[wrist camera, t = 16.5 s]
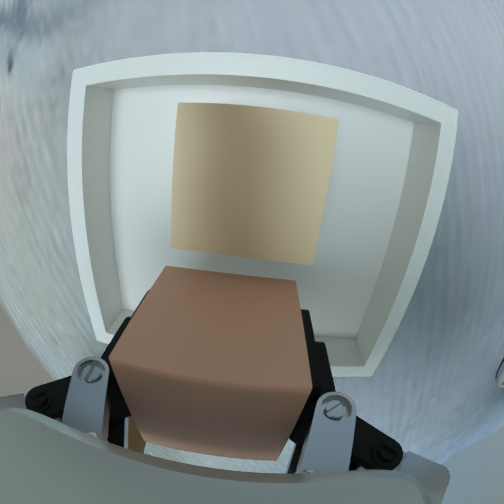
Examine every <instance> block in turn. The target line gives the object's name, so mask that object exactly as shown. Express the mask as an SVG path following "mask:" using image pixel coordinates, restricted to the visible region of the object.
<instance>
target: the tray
mask: <svg viewBox="0 0 504 504" xmlns="http://www.w3.org/2000/svg"><path fill="white" fill-rule="evenodd" d="M178 103H219V104H235V105H247V106H258V107H267V108H275V109H282V110H289V111H296V112H302V113H308V114H314V115H319V116H324V117H329V118H334V119H339V123H338V130H337V137H336V144H335V151H334V157H333V163H332V169H331V175H330V181H329V187H328V192H327V198H326V203H325V208H324V214H323V219H322V224H321V228H320V233H319V238H318V243H317V247H316V252H315V256H314V261H313V265H304V264H296V263H288V262H280V261H272V260H264V259H256V258H248V257H240V256H232V255H224V254H216V253H208V252H200V251H192V250H185V249H177V248H171V209H172V175H173V156H174V141H175V128H176V117H177V107H178ZM458 111H459V110H457V109H455V108H453V107H451V106H448V105H446V104H444V103H442V102H440V101H438V100H436V99H433V98H431V97H429V96H426V95H424V94H422V93H419V92H417V91H414V90H412V89H409V88H406V87H404V86H401V85H398V84H395V83H392V82H390V81H387V80H383V79H380V78H377V77H374V76H371V75H367V74H364V73H360V72H356V71H353V70H349V69H345V68H341V67H336V66H332V65H327V64H322V63H317V62H312V61H306V60H301V59H294V58H287V57H279V56H271V55H261V54H248V53H227V52H193V53H173V54H160V55H150V56H142V57H135V58H128V59H122V60H116V61H110V62H105V63H100V64H96V65H91V66H87V67H83V68H79V69H75V70H73V76H72V83H71V92H70V101H69V114H68V134H67V171H68V191H69V204H70V214H71V223H72V231H73V239H74V245H75V251H76V257H77V263H78V268H79V273H80V278H81V283H82V287H83V292H84V296H85V300H86V304H87V308H88V312H89V315H90V319H91V322H92V326H93V329H94V332H95V336H96V339H97V341H100V342H104V343H107V344H109V343H110V342H111V340H112V338H113V337H114V335H115V333H116V332H117V330H118V329H119V327H120V326H121V324H122V322H123V321H124V319H125V318H126V317H128V316H129V317H131V316H132V314H133V313H134V311H135V310H136V308H137V306H138V305H139V303H140V302H141V300H142V299H143V297H144V296H145V294H146V292H147V291H148V290H150V289H151V287H152V286H153V284H154V282H155V281H156V279H157V278H158V276H159V275H160V273H161V272H162V270H163V269H164V267H165V266H173V267H181V268H189V269H197V270H205V271H213V272H222V273H230V274H239V275H248V276H257V277H266V278H276V279H285V280H295V281H296V285H297V291H298V296H299V302H300V308H301V309H306V310H309V312H310V317H311V322H312V327H313V332H314V337H315V341H318V342H324V343H325V345H326V349H327V354H328V358H329V363H330V368H331V372H332V377H372V376H373V374H374V372H375V371H376V369H377V367H378V365H379V364H380V362H381V360H382V358H383V356H384V355H385V353H386V351H387V349H388V347H389V345H390V343H391V341H392V339H393V337H394V335H395V333H396V331H397V329H398V327H399V325H400V323H401V321H402V319H403V316H404V314H405V312H406V310H407V308H408V305H409V303H410V301H411V298H412V296H413V294H414V291H415V289H416V286H417V284H418V281H419V279H420V276H421V273H422V271H423V268H424V265H425V262H426V260H427V257H428V254H429V251H430V248H431V245H432V242H433V238H434V235H435V232H436V228H437V225H438V221H439V218H440V214H441V210H442V207H443V203H444V198H445V194H446V190H447V185H448V181H449V176H450V171H451V165H452V159H453V153H454V147H455V140H456V132H457V122H458Z"/></svg>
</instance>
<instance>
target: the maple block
mask: <svg viewBox="0 0 504 504" xmlns="http://www.w3.org/2000/svg"><path fill="white" fill-rule="evenodd" d="M338 123H339V119H334V118H329V117H324V116H319V115H314V114H308V113H302V112H296V111H289V110H282V109H275V108H267V107H258V106H247V105H235V104H219V103H178V107H177V117H176V128H175V141H174V156H173V175H172V209H171V248H177V249H185V250H192V251H200V252H208V253H216V254H224V255H232V256H240V257H248V258H256V259H264V260H272V261H280V262H288V263H296V264H304V265H313V261H314V256H315V252H316V247H317V243H318V238H319V233H320V228H321V224H322V219H323V214H324V208H325V203H326V198H327V192H328V187H329V181H330V175H331V169H332V163H333V157H334V151H335V144H336V137H337V130H338Z"/></svg>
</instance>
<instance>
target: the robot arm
mask: <svg viewBox="0 0 504 504" xmlns="http://www.w3.org/2000/svg"><path fill="white" fill-rule="evenodd" d="M148 292H149V290H148V291H147V292H146V294H145V296H146V295H147V293H148ZM145 296H144V297H143V299H144V298H145ZM143 299H142V300H141V302H140V303H139V305H138V306H137V308H136V310H135V311H134V313H133V314H132V316H131V317H129V316H128V317H126V318H125V319H124V321H123V322H122V324H121V326H120V327H119V329H118V330H117V332H116V333H115V335H114V337H113V338H112V340H111V342H110V343H109V345H108V346H107V348H106V350H105V351H104V353H103V355H102V356H101V358H97V357H88V358H84V359H82V360H81V361H79V362H78V363H77V364H76V365H75V367H74V370H73V373H72V376H69V377H66V378H63V379H59V380H56V381H53V382H50V383H47V384H43V385H40V386H37V387H34V388H33V389H31V390H30V391H29V392H28V393H27V395H26V396H25V395H24V394H23V393H22V394H16V395H9V396H3V397H0V504H441V502H442V500H443V497H444V494H445V492H446V489H447V486H448V484H449V480H450V474H449V471H448V469H447V468H446V467H444V466H443V465H441V464H438V463H436V462H433V461H431V460H428V459H426V458H424V457H421V456H419V455H417V454H414V453H412V452H410V451H408V452H407V453H405V452H403V450H402V447H401V446H400V444H399V443H398V442H397V441H395V440H394V439H392V438H391V437H389V436H387V435H386V434H384V433H383V432H381V431H379V430H378V429H376V428H375V427H373V426H372V425H370V424H368V423H367V422H365V421H364V420H362V419H361V418H359V417H358V416H356V412H357V411H356V405H355V403H354V401H353V400H352V399H351V398H350V397H349V396H347V395H346V394H343V393H340V392H335V387H334V382H333V377H332V372H331V368H330V363H329V358H328V354H327V349H326V345H325V343H324V342H318V341H315V337H314V332H313V327H312V322H311V317H310V312H309V310H306V309H301V314H302V320H303V327H304V333H305V339H306V346H307V353H308V359H309V366H310V373H311V381H312V390H311V392H310V394H309V397H308V399H307V401H306V403H305V405H304V408H303V410H302V412H301V414H300V416H299V418H298V420H297V422H296V424H295V426H294V429H293V431H292V433H291V435H290V436H289V439H290V440H291V441H293V442H294V443H295V444H294V447H293V451H292V454H291V457H290V460H289V463H288V466H287V469H286V472H285V474H275V473H253V472H240V471H231V470H222V469H214V468H208V467H201V466H195V465H190V464H185V463H180V462H175V461H171V460H166V459H162V458H158V457H154V456H150V455H147V454H143V453H140V452H136V451H133V450H130V449H128V417H129V416H132V415H131V413H130V411H129V408H128V406H127V404H126V402H125V399H124V397H123V395H122V392H121V390H120V387H119V385H118V382H117V380H116V377H115V374H114V372H113V369H112V366H111V364H110V361H109V358H108V357H109V356H110V354H111V352H112V350H113V349H114V347H115V345H116V344H117V342H118V340H119V339H120V337H121V335H122V333H123V332H124V330H125V328H126V327H127V325H128V324H129V322H130V320H131V319H132V317H133V315H134V314H135V312H136V311H137V309H138V307H139V306H140V304H141V303H142V301H143ZM496 381H497V384H498V385H499V387H501V388H504V361H503V363H502V365H501V367H500V369H499V371H498V374H497V378H496Z"/></svg>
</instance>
